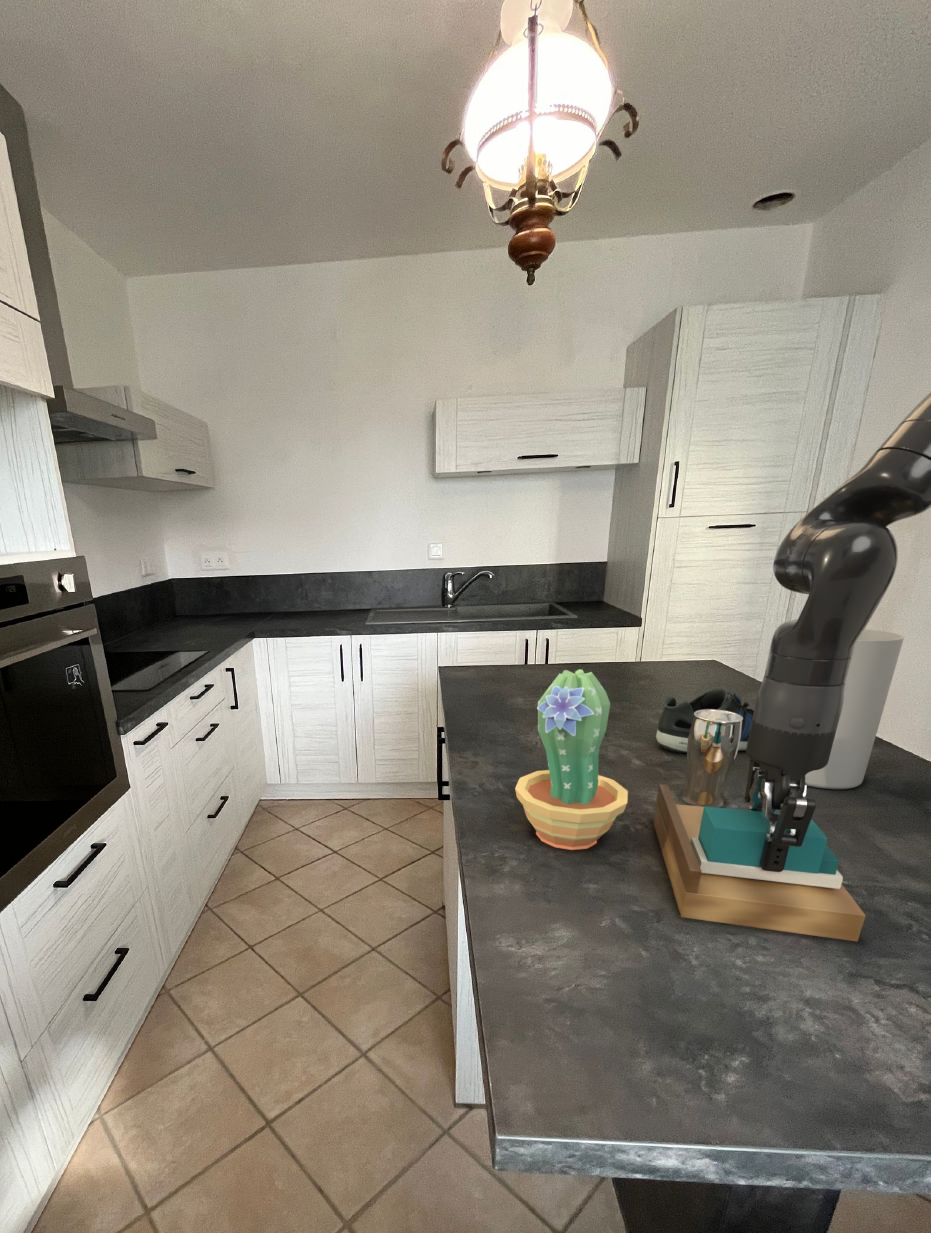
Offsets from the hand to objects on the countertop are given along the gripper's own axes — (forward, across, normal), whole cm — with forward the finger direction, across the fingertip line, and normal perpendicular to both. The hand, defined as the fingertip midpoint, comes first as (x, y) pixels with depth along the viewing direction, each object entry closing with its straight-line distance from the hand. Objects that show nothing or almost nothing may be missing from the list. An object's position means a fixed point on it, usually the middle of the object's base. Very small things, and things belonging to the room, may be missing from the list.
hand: (762, 855), depth 70 cm
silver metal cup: (+6, +27, 0) cm, 28 cm away
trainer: (+2, 0, 0) cm, 2 cm away
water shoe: (+6, +57, -10) cm, 58 cm away
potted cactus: (+6, +10, +22) cm, 25 cm away
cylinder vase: (+6, +43, -20) cm, 48 cm away
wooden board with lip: (+6, +5, 0) cm, 8 cm away
